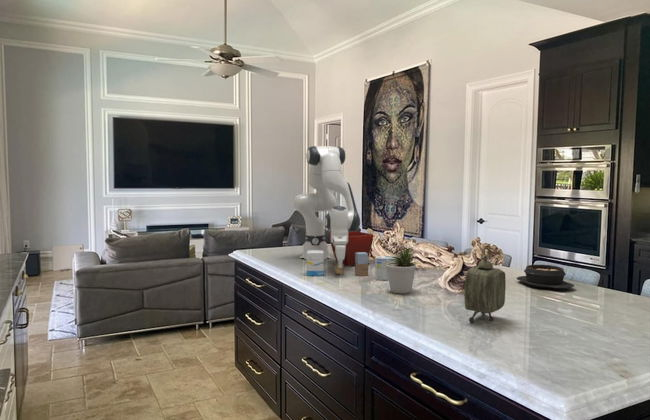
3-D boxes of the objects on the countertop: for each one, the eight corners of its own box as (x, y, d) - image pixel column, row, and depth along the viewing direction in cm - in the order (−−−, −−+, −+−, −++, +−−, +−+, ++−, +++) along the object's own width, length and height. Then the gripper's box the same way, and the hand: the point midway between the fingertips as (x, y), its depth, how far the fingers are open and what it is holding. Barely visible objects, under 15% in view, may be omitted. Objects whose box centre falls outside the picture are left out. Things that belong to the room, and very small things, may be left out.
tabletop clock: (480, 313, 172) (481, 244, 170) (505, 317, 166) (507, 246, 164) (463, 322, 160) (465, 249, 159) (490, 328, 155) (492, 251, 153)
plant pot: (328, 262, 274) (328, 232, 272) (357, 259, 282) (357, 231, 280) (343, 267, 256) (343, 236, 255) (374, 264, 264) (374, 234, 263)
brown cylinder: (334, 272, 243) (334, 263, 243) (343, 272, 243) (343, 263, 243) (335, 274, 239) (335, 264, 238) (343, 274, 239) (343, 264, 238)
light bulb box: (397, 277, 231) (397, 255, 230) (398, 280, 225) (398, 258, 224) (375, 277, 232) (375, 255, 231) (375, 280, 226) (375, 257, 225)
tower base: (355, 273, 241) (355, 262, 241) (366, 273, 241) (366, 261, 241) (356, 276, 235) (356, 264, 235) (368, 276, 235) (368, 264, 235)
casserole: (506, 282, 219) (507, 264, 219) (533, 278, 228) (534, 261, 228) (556, 294, 197) (556, 274, 197) (583, 289, 206) (584, 270, 206)
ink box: (323, 276, 236) (323, 252, 235) (306, 276, 236) (306, 252, 235) (324, 272, 244) (324, 250, 243) (307, 272, 244) (307, 250, 243)
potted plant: (418, 296, 196) (419, 247, 195) (384, 294, 199) (385, 246, 197) (418, 288, 208) (419, 243, 207) (387, 287, 211) (387, 242, 210)
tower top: (355, 262, 240) (355, 252, 239) (364, 262, 241) (365, 252, 240) (358, 264, 235) (358, 254, 234) (367, 263, 236) (367, 253, 235)
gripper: (332, 236, 250) (332, 262, 251) (334, 241, 229) (334, 269, 230) (344, 236, 250) (344, 262, 251) (347, 241, 229) (347, 269, 230)
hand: (339, 266), depth 240 cm, fingers open, 8 cm apart
